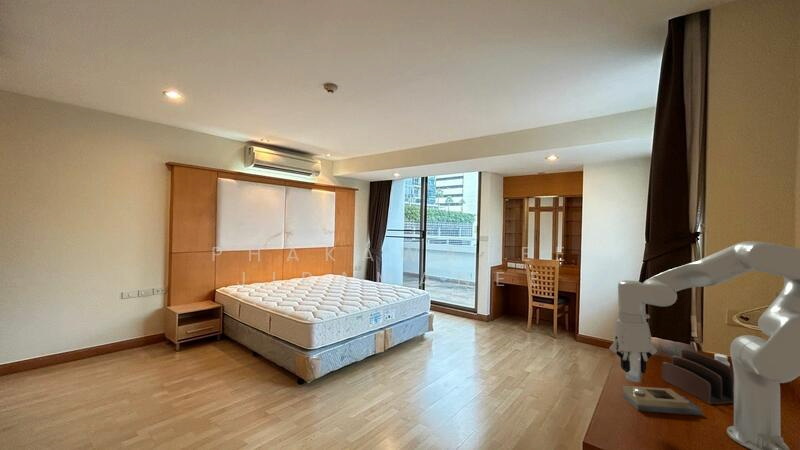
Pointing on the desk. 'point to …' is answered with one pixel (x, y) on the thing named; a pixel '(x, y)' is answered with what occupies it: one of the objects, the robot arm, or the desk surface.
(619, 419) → the desk surface
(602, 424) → the desk surface
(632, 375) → the steel pin
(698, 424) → the desk surface
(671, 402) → the square hole plate
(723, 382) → the letter holder
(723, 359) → the supplement bottle
